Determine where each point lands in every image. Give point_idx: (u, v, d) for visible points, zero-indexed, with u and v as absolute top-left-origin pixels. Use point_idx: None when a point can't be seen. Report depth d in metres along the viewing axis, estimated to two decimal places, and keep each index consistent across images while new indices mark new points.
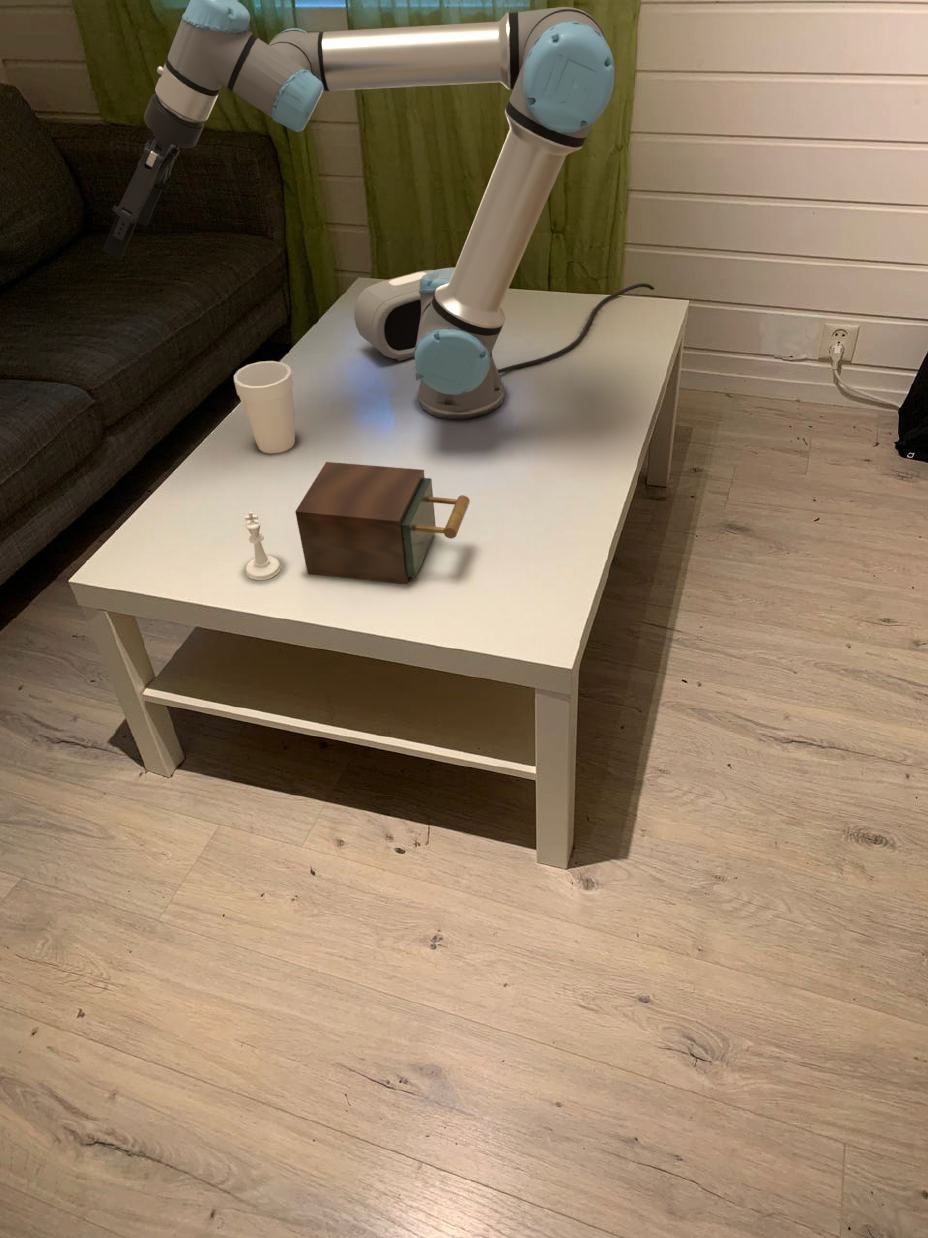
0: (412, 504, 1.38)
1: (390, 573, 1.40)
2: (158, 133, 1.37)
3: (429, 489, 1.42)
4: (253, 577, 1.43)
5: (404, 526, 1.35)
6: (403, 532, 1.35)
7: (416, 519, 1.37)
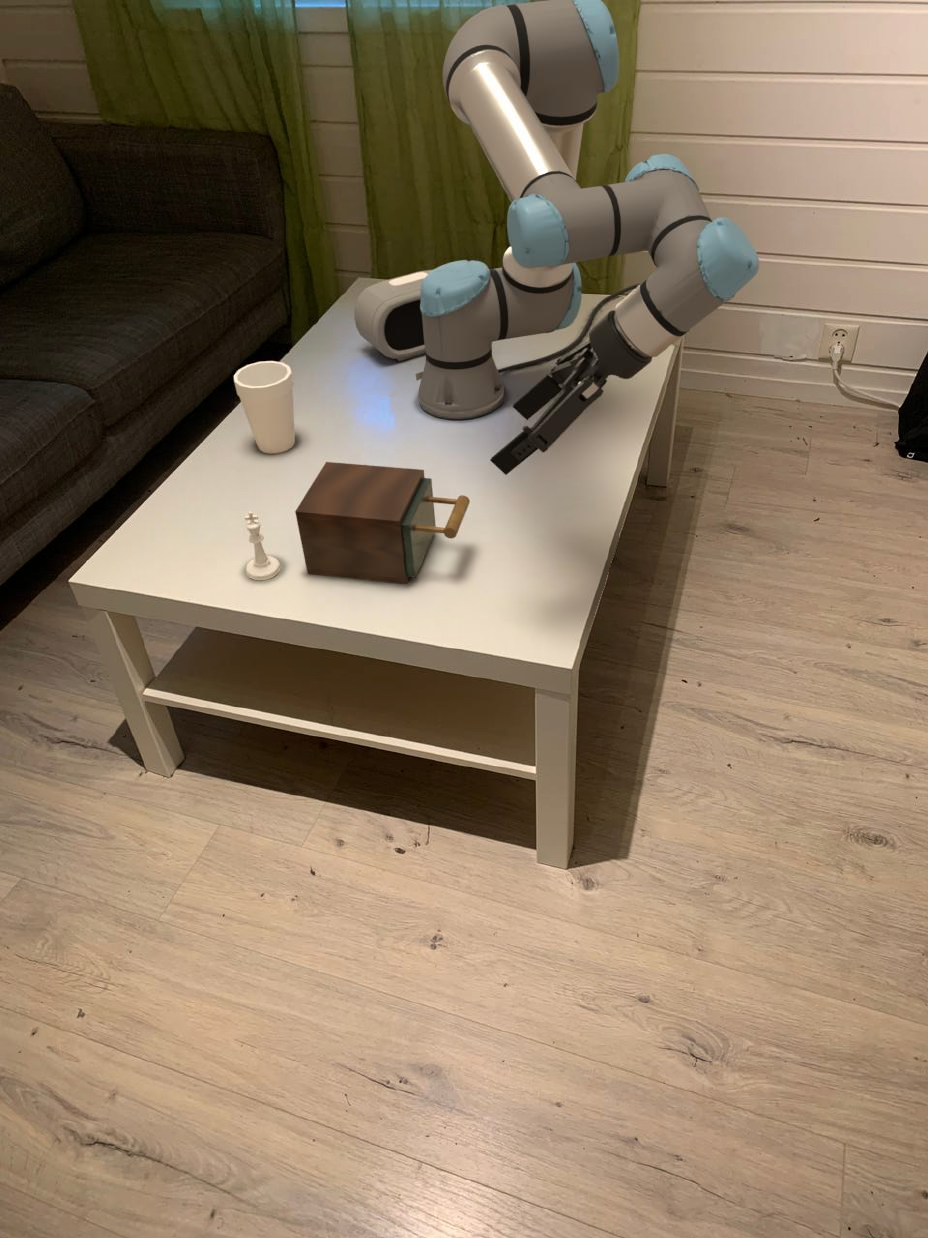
0: (412, 504, 1.38)
1: (390, 573, 1.40)
2: None
3: (429, 489, 1.42)
4: (253, 577, 1.43)
5: (404, 526, 1.35)
6: (403, 532, 1.35)
7: (416, 519, 1.37)
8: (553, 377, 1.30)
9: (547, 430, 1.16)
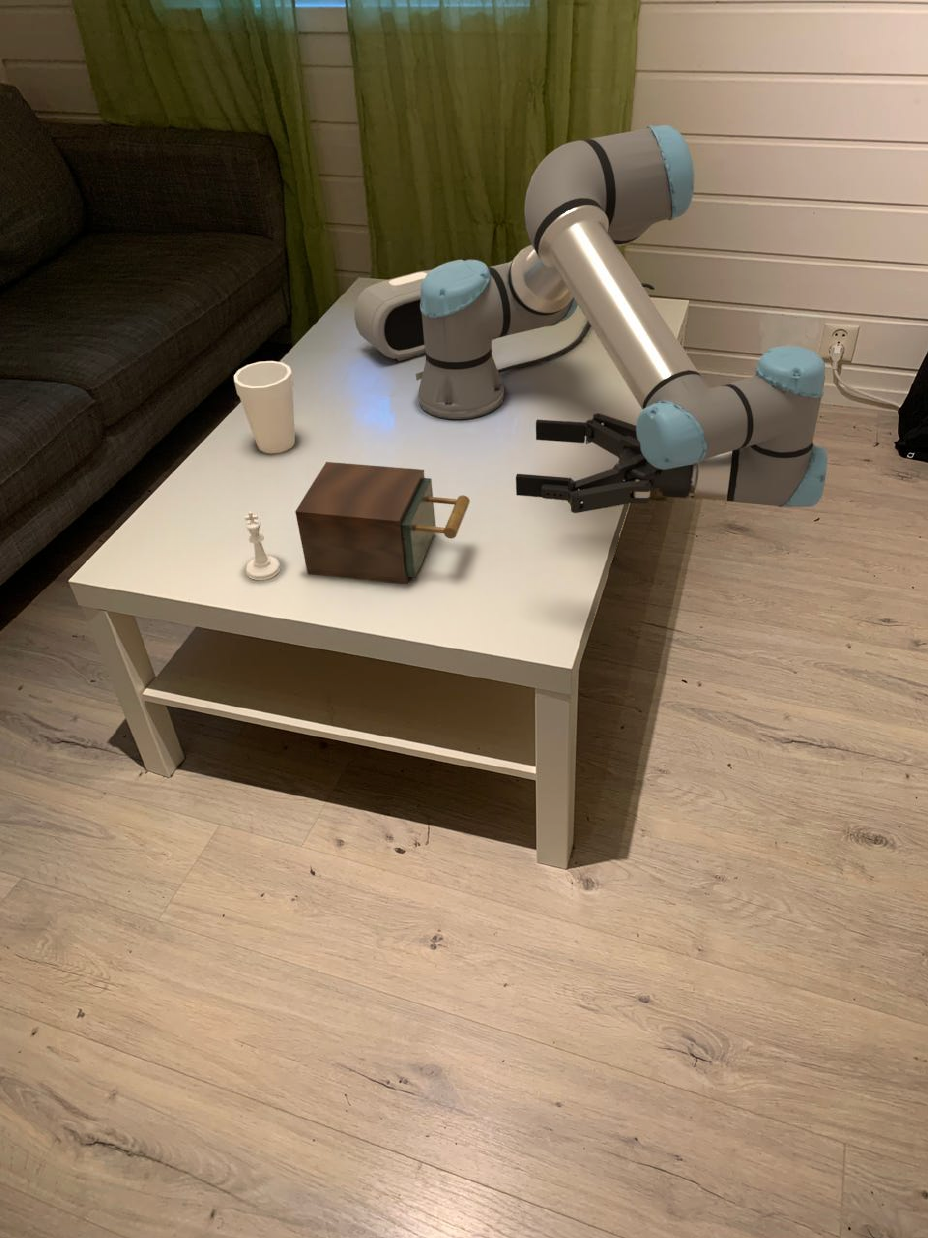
0: (412, 504, 1.38)
1: (390, 573, 1.40)
2: None
3: (429, 489, 1.42)
4: (253, 577, 1.43)
5: (404, 526, 1.35)
6: (403, 532, 1.35)
7: (416, 519, 1.37)
8: (586, 428, 1.33)
9: (590, 499, 1.21)
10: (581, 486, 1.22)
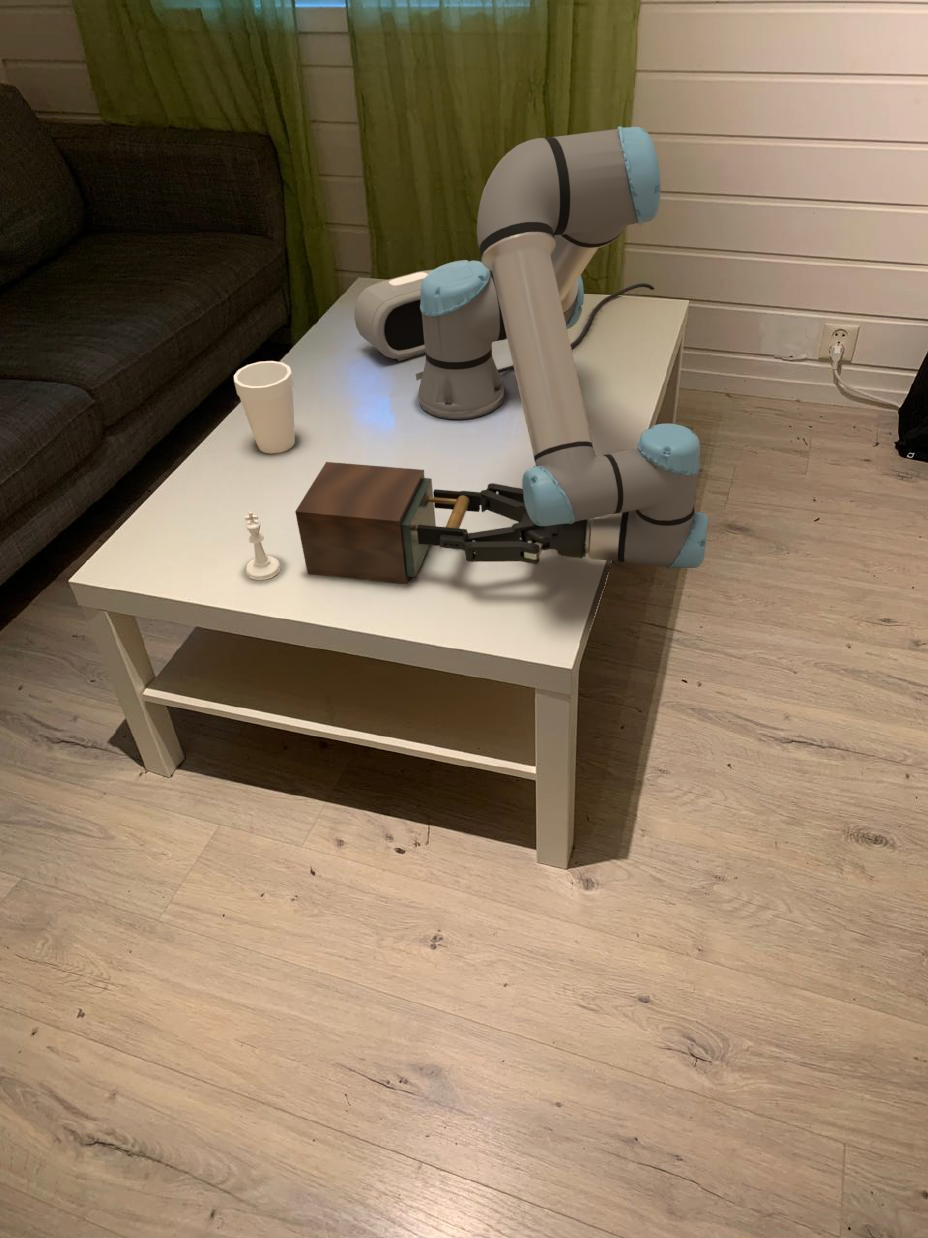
0: (412, 504, 1.38)
1: (390, 573, 1.40)
2: None
3: (429, 489, 1.42)
4: (253, 577, 1.43)
5: (404, 526, 1.35)
6: (403, 532, 1.35)
7: (416, 519, 1.37)
8: (481, 498, 1.42)
9: (481, 552, 1.33)
10: (474, 538, 1.34)
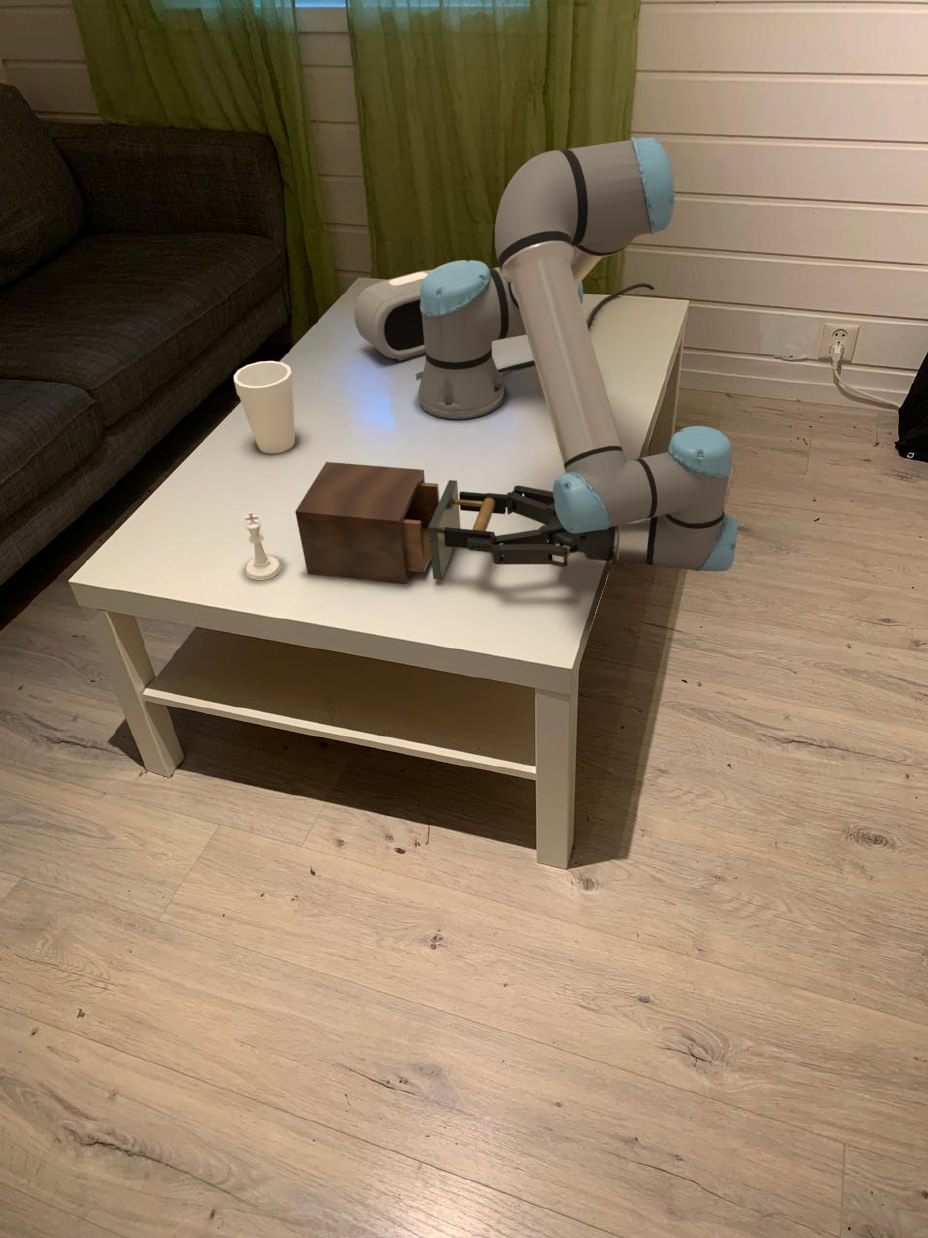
0: (438, 506, 1.37)
1: (390, 573, 1.40)
2: None
3: (454, 491, 1.41)
4: (253, 577, 1.43)
5: (431, 529, 1.34)
6: (430, 535, 1.35)
7: (442, 522, 1.37)
8: (507, 500, 1.41)
9: (509, 555, 1.32)
10: (502, 541, 1.33)
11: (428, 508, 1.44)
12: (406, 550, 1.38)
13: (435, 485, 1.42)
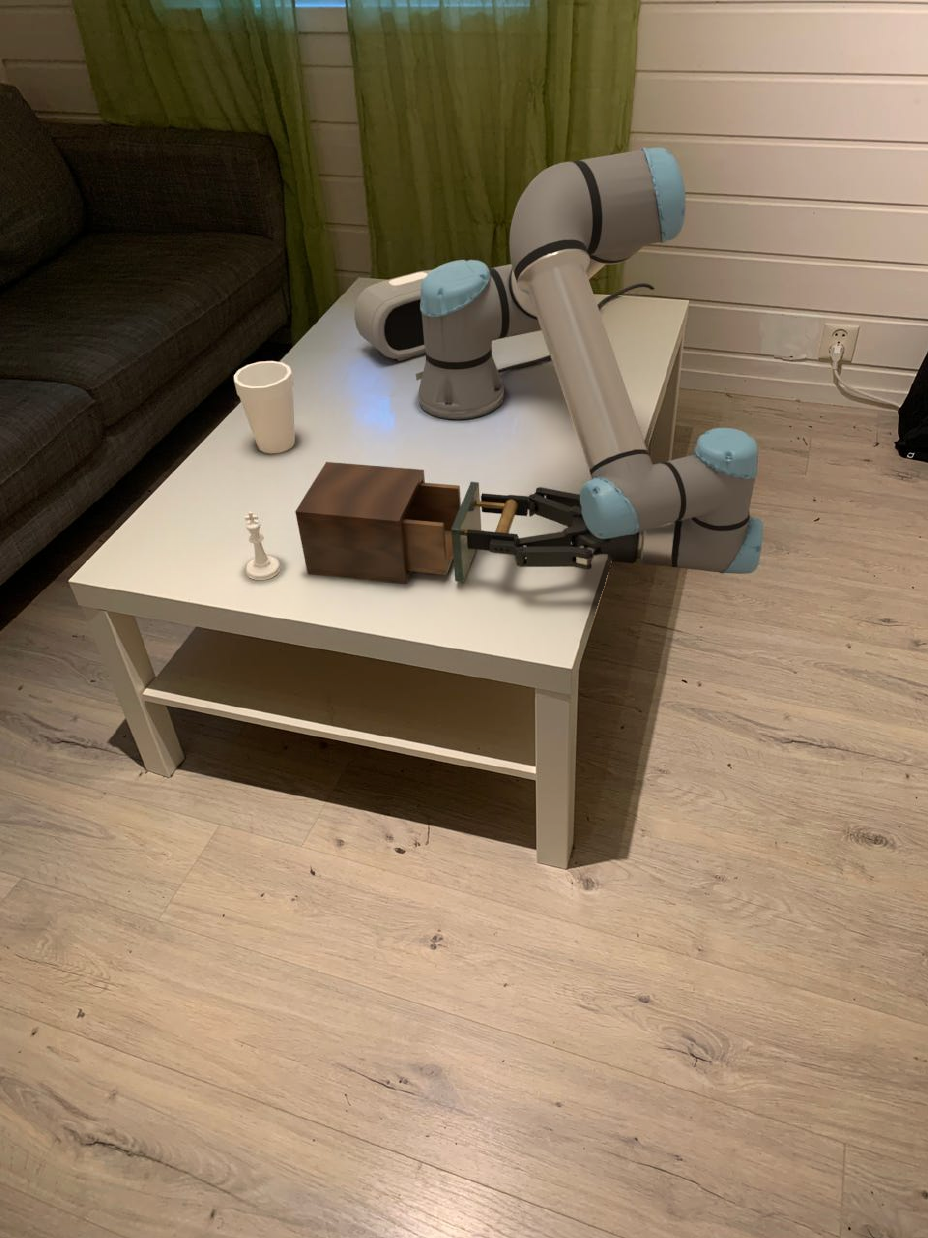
0: (461, 508, 1.37)
1: (390, 573, 1.40)
2: None
3: (476, 493, 1.41)
4: (253, 577, 1.43)
5: (454, 531, 1.33)
6: (453, 537, 1.34)
7: (465, 524, 1.36)
8: (529, 502, 1.40)
9: (533, 557, 1.31)
10: (525, 543, 1.32)
11: (449, 510, 1.44)
12: (428, 552, 1.38)
13: (457, 487, 1.41)
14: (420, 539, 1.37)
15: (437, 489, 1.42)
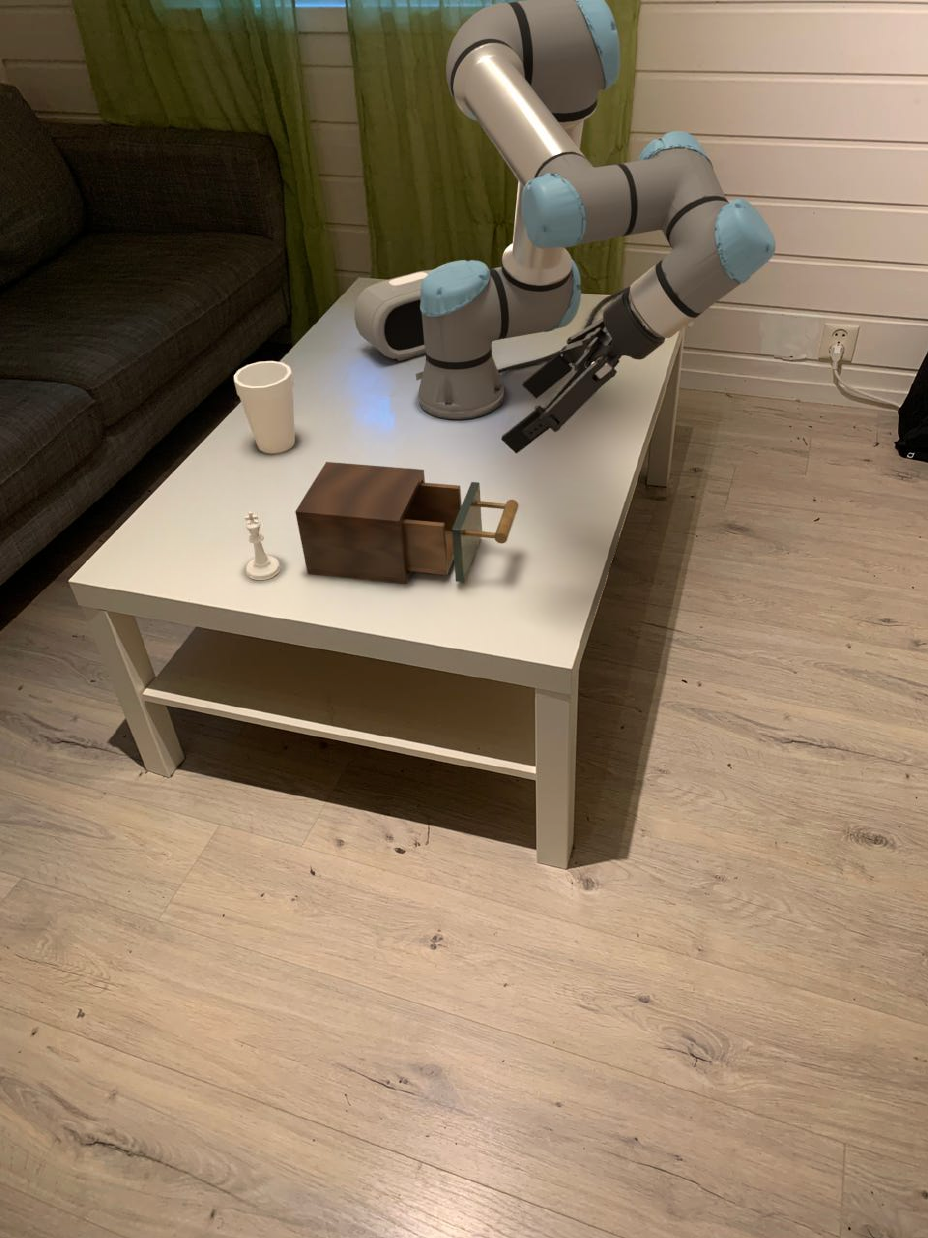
0: (462, 508, 1.37)
1: (390, 573, 1.40)
2: None
3: (477, 493, 1.41)
4: (253, 577, 1.43)
5: (455, 531, 1.33)
6: (453, 537, 1.34)
7: (465, 524, 1.36)
8: (564, 356, 1.30)
9: (560, 410, 1.16)
10: (549, 405, 1.18)
11: (450, 510, 1.44)
12: (429, 552, 1.38)
13: (457, 487, 1.41)
14: (421, 539, 1.37)
15: (438, 489, 1.42)
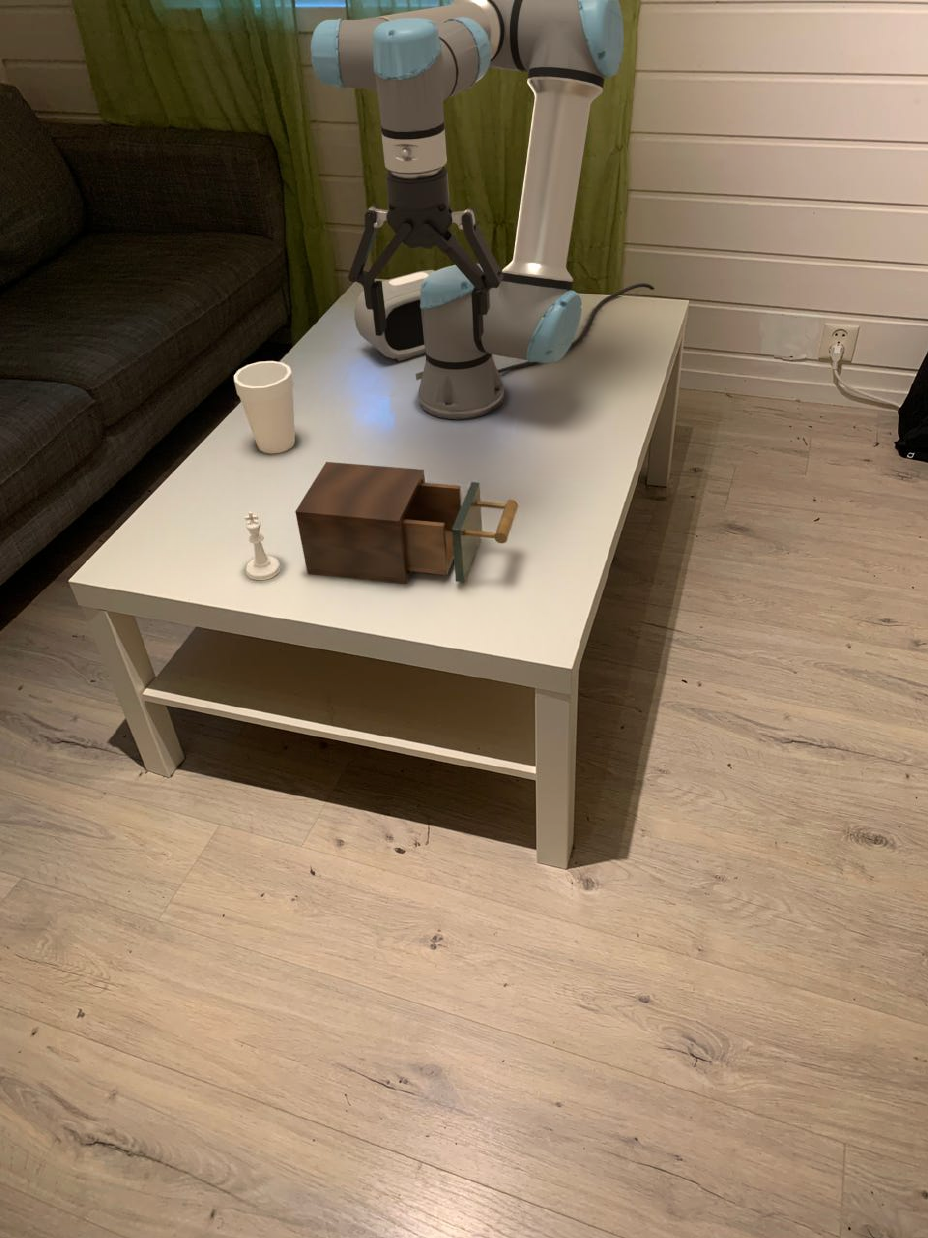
0: (462, 508, 1.37)
1: (390, 573, 1.40)
2: (445, 199, 1.22)
3: (477, 493, 1.41)
4: (253, 577, 1.43)
5: (455, 531, 1.33)
6: (453, 537, 1.34)
7: (465, 524, 1.36)
8: None
9: None
10: None
11: (450, 510, 1.44)
12: (429, 552, 1.38)
13: (457, 487, 1.41)
14: (421, 539, 1.37)
15: (438, 489, 1.42)
